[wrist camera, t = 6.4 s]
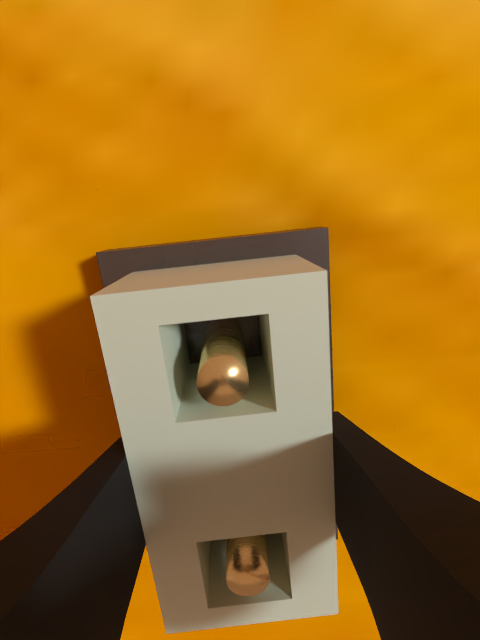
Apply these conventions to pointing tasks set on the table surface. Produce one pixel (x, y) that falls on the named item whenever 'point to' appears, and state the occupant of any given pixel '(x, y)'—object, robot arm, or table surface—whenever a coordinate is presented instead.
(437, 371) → the table surface
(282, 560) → the hollow breeze brick
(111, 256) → the base
